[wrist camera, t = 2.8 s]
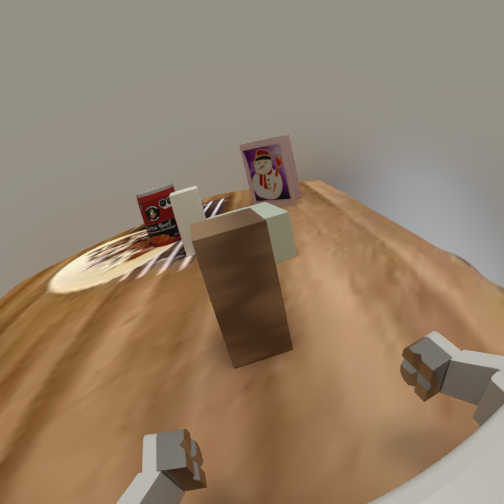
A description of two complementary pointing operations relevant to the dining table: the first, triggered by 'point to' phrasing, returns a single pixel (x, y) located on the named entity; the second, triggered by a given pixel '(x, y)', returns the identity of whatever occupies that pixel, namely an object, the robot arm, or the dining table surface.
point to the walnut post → (243, 284)
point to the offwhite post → (187, 214)
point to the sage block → (276, 229)
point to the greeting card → (271, 171)
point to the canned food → (159, 215)
